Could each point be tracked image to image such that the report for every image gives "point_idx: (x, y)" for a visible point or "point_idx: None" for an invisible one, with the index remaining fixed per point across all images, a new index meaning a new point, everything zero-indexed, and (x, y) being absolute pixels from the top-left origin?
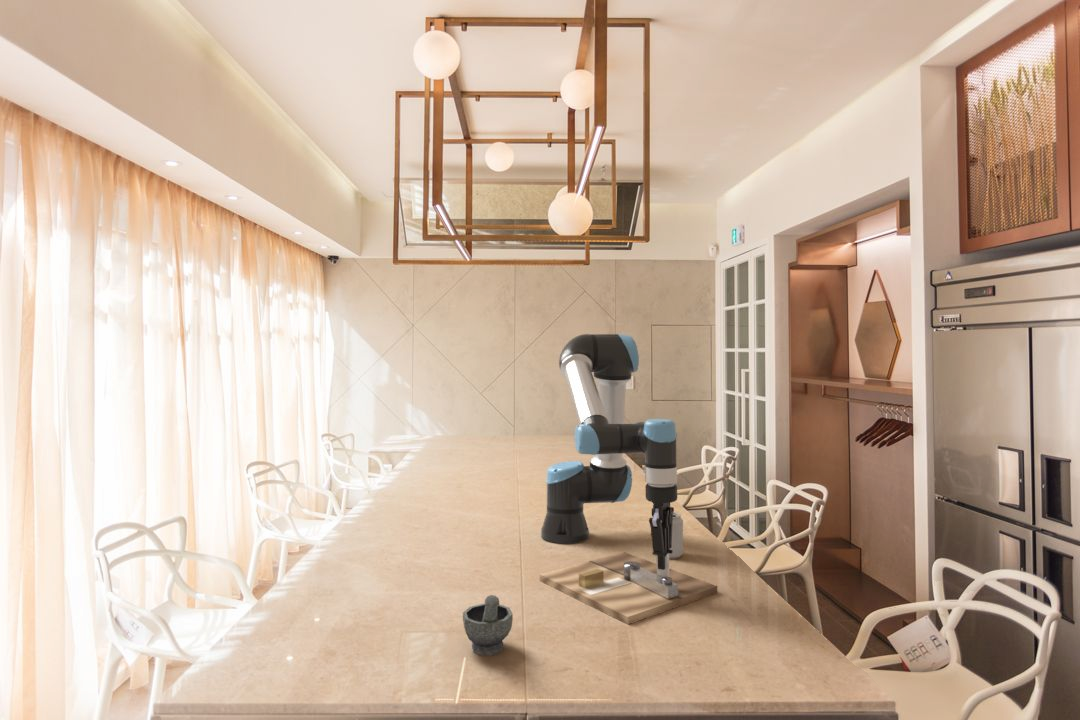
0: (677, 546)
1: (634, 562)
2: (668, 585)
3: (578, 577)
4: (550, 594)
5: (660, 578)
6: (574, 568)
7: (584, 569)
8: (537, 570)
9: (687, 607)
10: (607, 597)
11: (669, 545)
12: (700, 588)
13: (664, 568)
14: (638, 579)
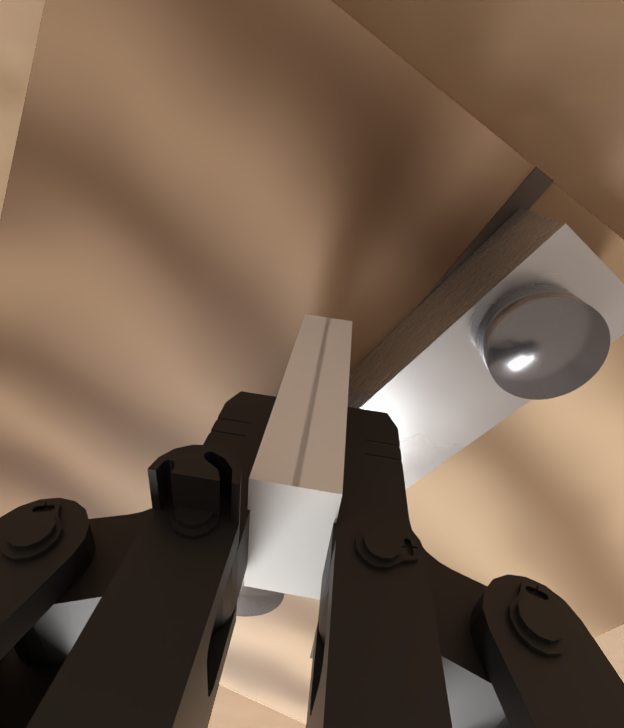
0: None
1: None
2: (609, 314)
3: None
4: None
5: (420, 396)
6: (245, 680)
7: (239, 657)
8: (267, 723)
9: (554, 112)
10: (575, 581)
11: (114, 589)
12: (241, 16)
13: (366, 414)
14: None
